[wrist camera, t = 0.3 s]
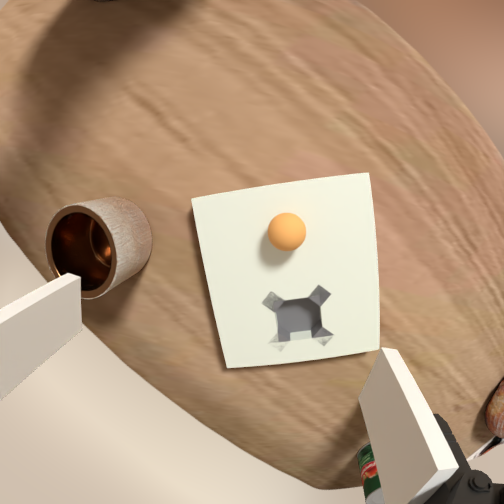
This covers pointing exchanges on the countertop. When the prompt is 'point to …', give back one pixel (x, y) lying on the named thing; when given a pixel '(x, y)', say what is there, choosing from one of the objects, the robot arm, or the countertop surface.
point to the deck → (292, 271)
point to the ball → (286, 231)
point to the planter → (98, 243)
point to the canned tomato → (370, 476)
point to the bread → (496, 412)
